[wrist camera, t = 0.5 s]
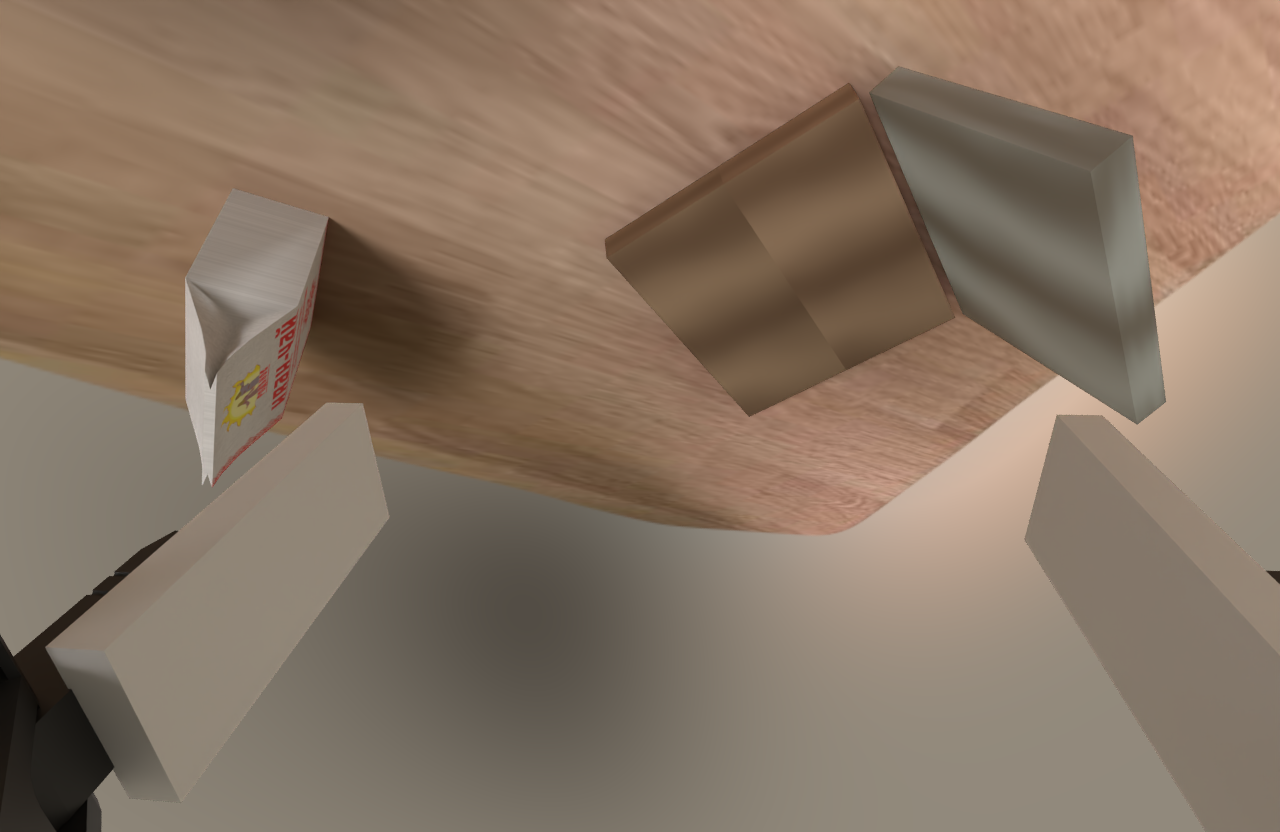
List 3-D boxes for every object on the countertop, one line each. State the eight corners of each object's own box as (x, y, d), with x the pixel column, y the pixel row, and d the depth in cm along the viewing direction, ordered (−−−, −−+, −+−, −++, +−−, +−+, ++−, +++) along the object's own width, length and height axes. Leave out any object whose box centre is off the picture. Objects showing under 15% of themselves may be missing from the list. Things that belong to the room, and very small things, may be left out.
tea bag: (226, 307, 33) (150, 477, 27) (233, 187, 29) (143, 357, 22) (310, 327, 35) (257, 494, 28) (328, 216, 30) (270, 384, 24)
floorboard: (604, 239, 32) (606, 257, 31) (848, 82, 28) (859, 98, 27) (744, 398, 42) (749, 416, 41) (944, 300, 37) (955, 317, 36)
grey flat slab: (898, 66, 27) (869, 92, 27) (1132, 135, 19) (1090, 171, 19) (984, 295, 36) (962, 313, 36) (1166, 401, 29) (1137, 424, 29)
